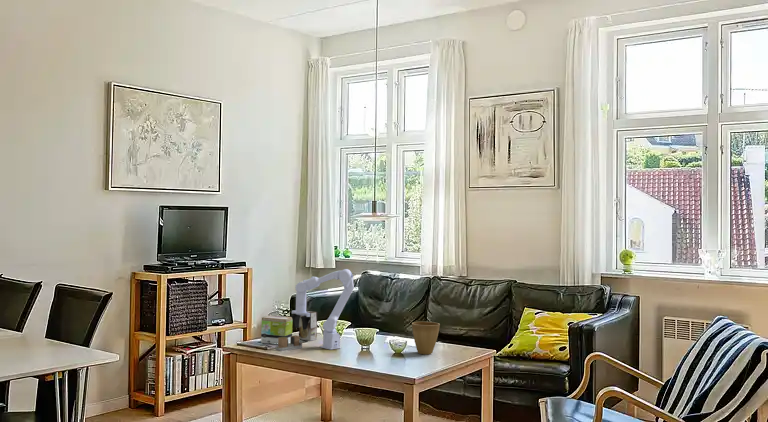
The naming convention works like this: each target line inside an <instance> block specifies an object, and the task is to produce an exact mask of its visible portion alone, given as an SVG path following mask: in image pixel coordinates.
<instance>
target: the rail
mask: <svg viewBox="0 0 768 422" xmlns="http://www.w3.org/2000/svg"><path fill="white" fill-rule="evenodd" d="M274 348H275V351H279V352H282V351H291V350H297V349H303V343H302V342H299V346H293V344H290V343H288V338H287V337H278V344H277V346H275V347H274Z"/></svg>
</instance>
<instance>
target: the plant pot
mask: <svg viewBox="0 0 768 422" xmlns="http://www.w3.org/2000/svg"><path fill="white" fill-rule="evenodd" d="M440 326H441V324H440V323H438V322H434V321H414V322H412V323H411V327H412V334H413V340H414V343H415V348H416V351H417V354H420V355H432V354H433V351H434V349H435V347H436V344H437V340H438V338H439V337H438V336H439V332H440ZM431 353H432V354H431Z"/></svg>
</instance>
